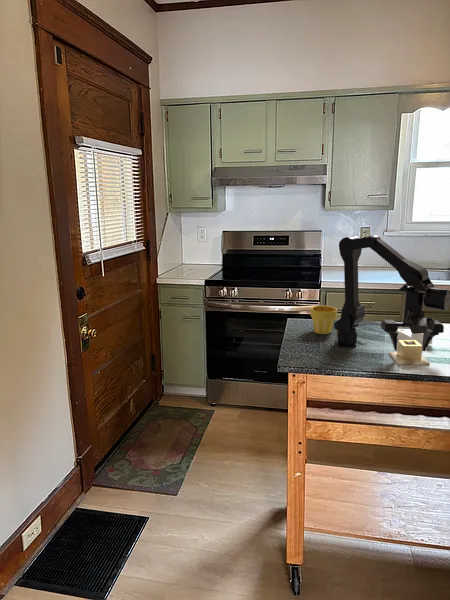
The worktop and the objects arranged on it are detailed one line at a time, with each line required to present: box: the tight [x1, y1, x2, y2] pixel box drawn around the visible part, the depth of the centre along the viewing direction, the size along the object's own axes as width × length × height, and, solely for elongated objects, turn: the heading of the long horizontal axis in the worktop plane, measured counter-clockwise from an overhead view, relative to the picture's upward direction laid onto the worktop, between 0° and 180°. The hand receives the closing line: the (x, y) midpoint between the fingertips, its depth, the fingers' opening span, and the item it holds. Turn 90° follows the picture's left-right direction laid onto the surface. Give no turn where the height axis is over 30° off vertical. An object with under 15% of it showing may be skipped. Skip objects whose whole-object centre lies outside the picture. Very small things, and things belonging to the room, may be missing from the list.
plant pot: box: [310, 305, 338, 335], centre depth 181 cm, size 10×10×10 cm
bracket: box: [396, 329, 434, 346], centre depth 169 cm, size 13×7×8 cm, turn 14°
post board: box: [388, 342, 431, 366], centre depth 151 cm, size 10×10×6 cm
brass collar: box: [396, 339, 423, 360], centre depth 151 cm, size 6×6×5 cm
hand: (409, 350), depth 151 cm, fingers open, 9 cm apart
